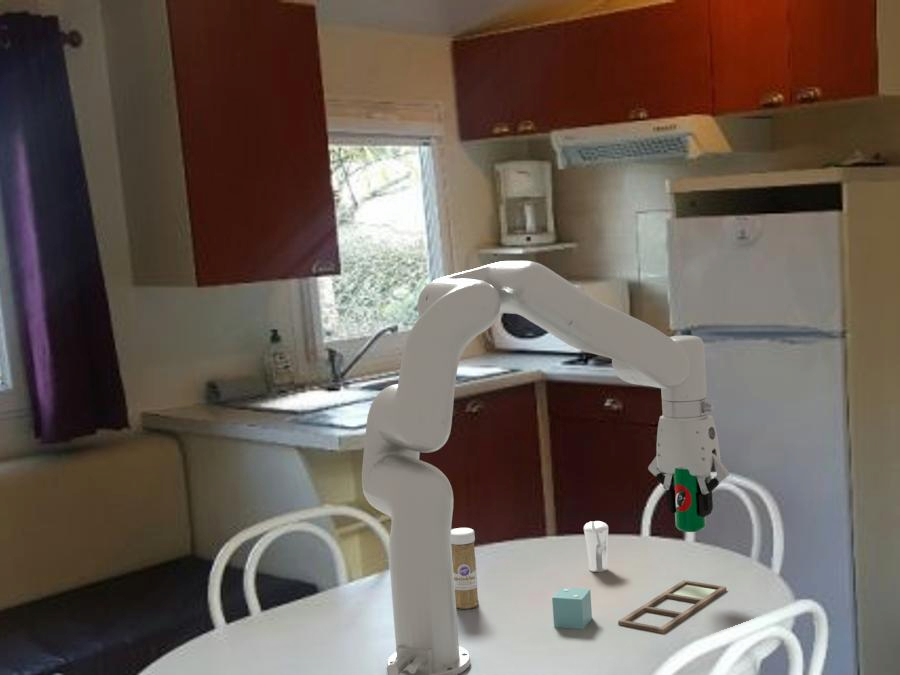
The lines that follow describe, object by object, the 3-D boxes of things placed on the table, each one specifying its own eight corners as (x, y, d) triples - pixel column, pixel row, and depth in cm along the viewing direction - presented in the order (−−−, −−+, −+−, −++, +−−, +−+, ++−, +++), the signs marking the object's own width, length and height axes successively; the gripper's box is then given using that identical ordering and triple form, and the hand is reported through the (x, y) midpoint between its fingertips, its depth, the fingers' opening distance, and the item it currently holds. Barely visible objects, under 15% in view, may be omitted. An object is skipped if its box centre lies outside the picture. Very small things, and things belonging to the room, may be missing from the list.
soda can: (706, 532, 189) (702, 463, 187) (675, 533, 190) (672, 463, 188) (705, 524, 194) (702, 456, 192) (675, 524, 195) (672, 457, 193)
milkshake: (583, 574, 207) (580, 522, 206) (588, 565, 212) (585, 514, 211) (607, 575, 206) (604, 522, 205) (612, 566, 211) (609, 514, 210)
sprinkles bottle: (457, 611, 193) (452, 535, 191) (450, 603, 197) (444, 529, 196) (482, 607, 194) (477, 531, 192) (474, 599, 198) (469, 525, 197)
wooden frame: (663, 633, 176) (662, 629, 176) (618, 624, 181) (618, 621, 181) (726, 590, 193) (726, 587, 193) (683, 583, 198) (683, 580, 198)
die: (583, 629, 180) (581, 599, 180) (554, 627, 182) (552, 597, 182) (592, 618, 185) (590, 588, 184) (563, 616, 187) (561, 587, 186)
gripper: (741, 407, 187) (746, 513, 189) (651, 402, 198) (656, 503, 200) (721, 415, 181) (726, 524, 183) (629, 410, 192) (635, 513, 194)
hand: (690, 512), depth 191 cm, fingers closed on soda can, 5 cm apart
